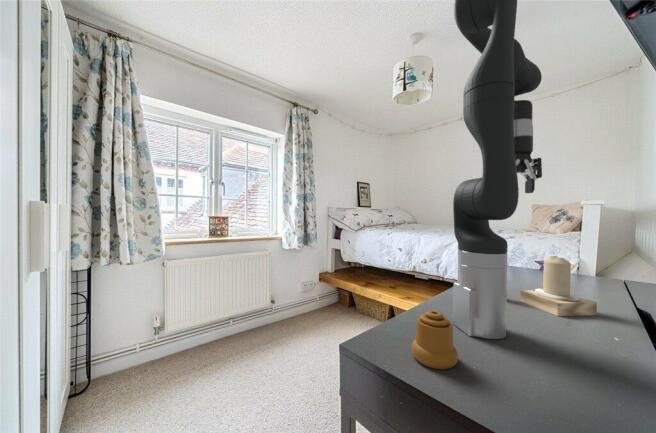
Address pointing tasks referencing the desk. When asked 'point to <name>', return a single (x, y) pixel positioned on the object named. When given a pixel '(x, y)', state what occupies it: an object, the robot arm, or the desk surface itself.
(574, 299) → the candle stand
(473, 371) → the desk surface
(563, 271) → the candle
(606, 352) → the desk surface
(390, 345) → the desk surface
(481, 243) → the robot arm
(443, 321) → the ornamental finial
